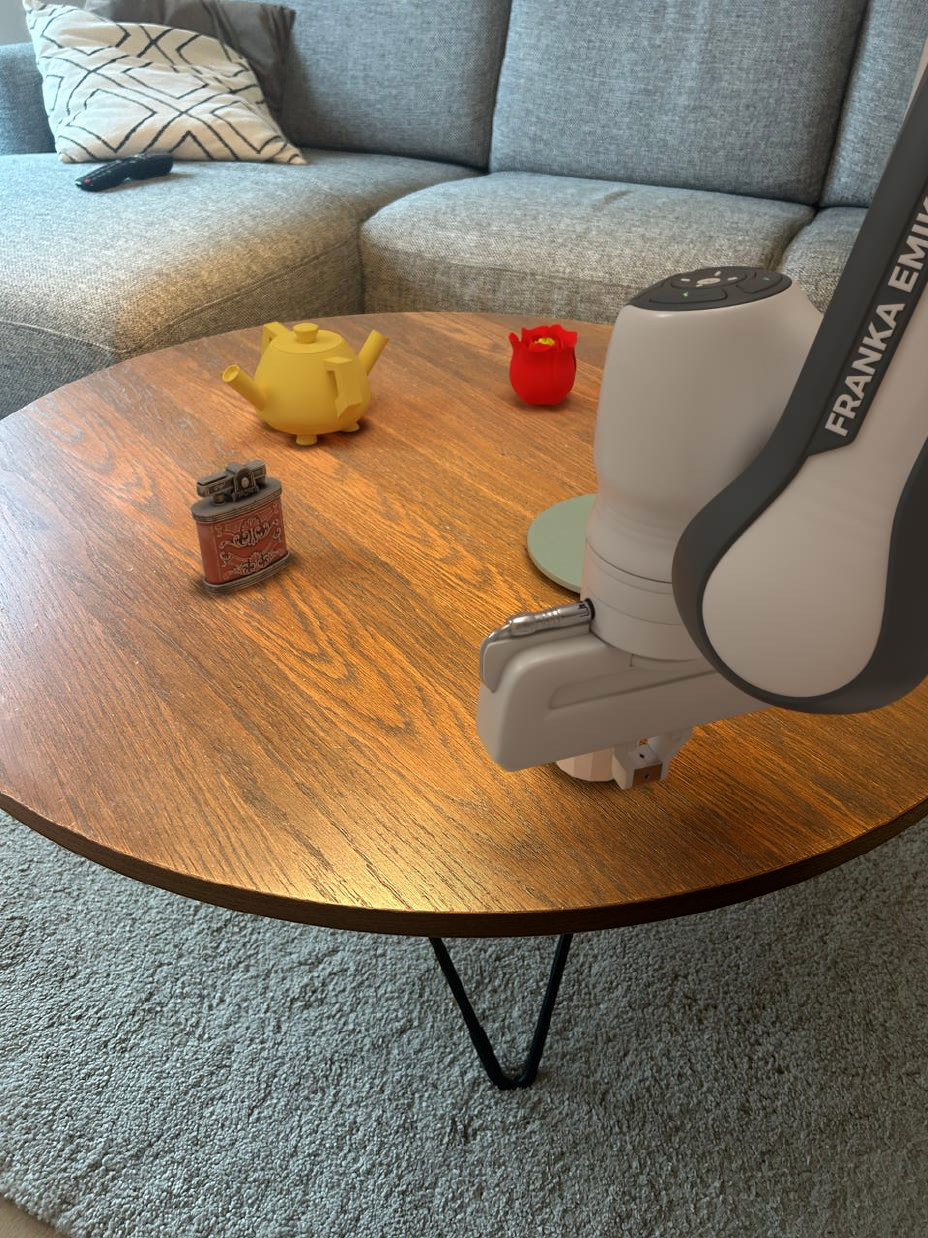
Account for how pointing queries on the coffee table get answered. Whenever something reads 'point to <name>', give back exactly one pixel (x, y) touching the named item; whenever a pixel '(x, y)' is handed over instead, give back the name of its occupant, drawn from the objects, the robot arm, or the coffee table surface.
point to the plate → (561, 540)
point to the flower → (543, 364)
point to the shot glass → (590, 765)
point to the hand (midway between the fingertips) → (638, 777)
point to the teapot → (309, 380)
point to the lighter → (240, 527)
